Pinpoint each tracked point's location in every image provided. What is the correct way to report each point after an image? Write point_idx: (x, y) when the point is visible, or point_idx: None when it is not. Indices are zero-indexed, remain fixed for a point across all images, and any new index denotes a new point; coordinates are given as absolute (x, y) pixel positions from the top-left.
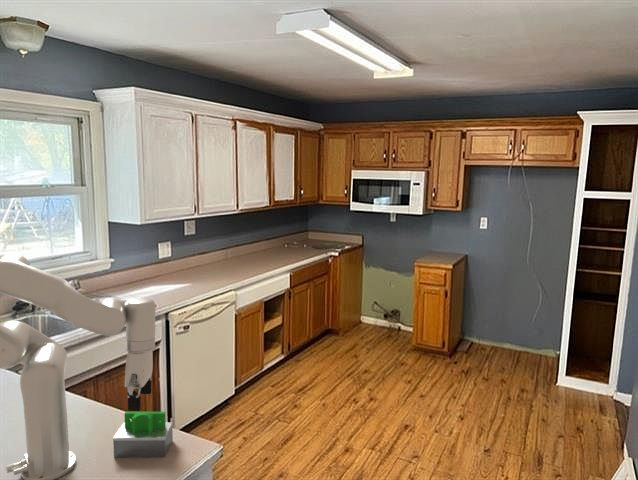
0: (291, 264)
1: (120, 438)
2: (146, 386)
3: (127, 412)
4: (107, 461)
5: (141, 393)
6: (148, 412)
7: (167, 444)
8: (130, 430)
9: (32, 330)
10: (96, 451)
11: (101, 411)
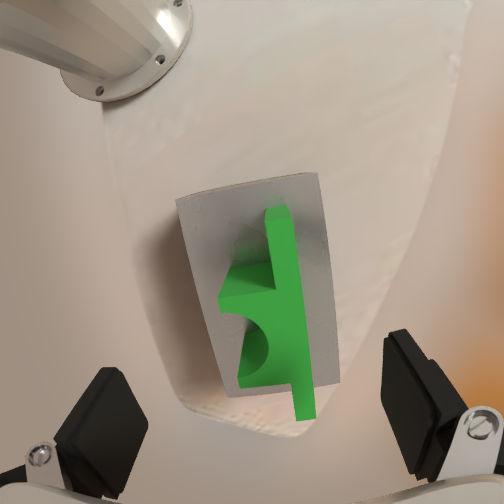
0: None
1: (184, 231)
2: (403, 424)
3: (281, 234)
4: (176, 181)
5: (384, 347)
6: (299, 356)
7: None
8: (249, 247)
9: None
10: (224, 106)
11: (451, 19)
